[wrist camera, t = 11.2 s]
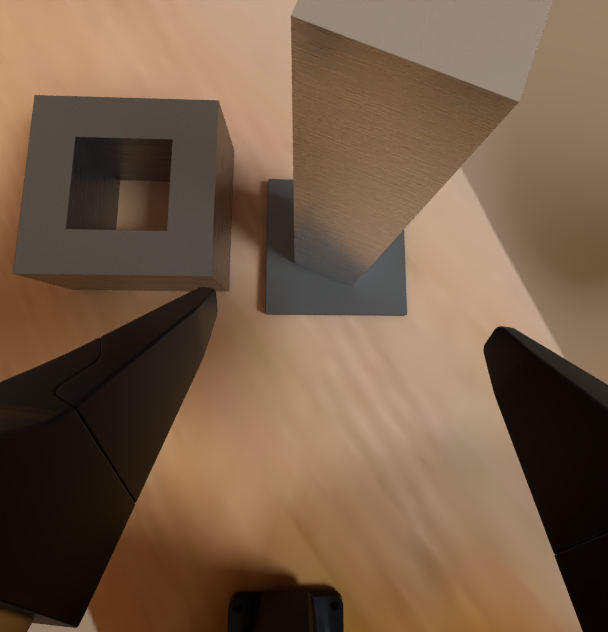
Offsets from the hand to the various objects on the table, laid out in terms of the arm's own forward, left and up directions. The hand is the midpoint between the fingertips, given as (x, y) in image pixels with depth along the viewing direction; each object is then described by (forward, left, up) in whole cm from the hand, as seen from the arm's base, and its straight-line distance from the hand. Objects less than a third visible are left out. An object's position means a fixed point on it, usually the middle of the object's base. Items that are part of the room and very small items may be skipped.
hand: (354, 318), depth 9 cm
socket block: (+8, +11, -10) cm, 17 cm away
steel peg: (+6, -1, -9) cm, 11 cm away
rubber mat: (+6, -1, -10) cm, 11 cm away
